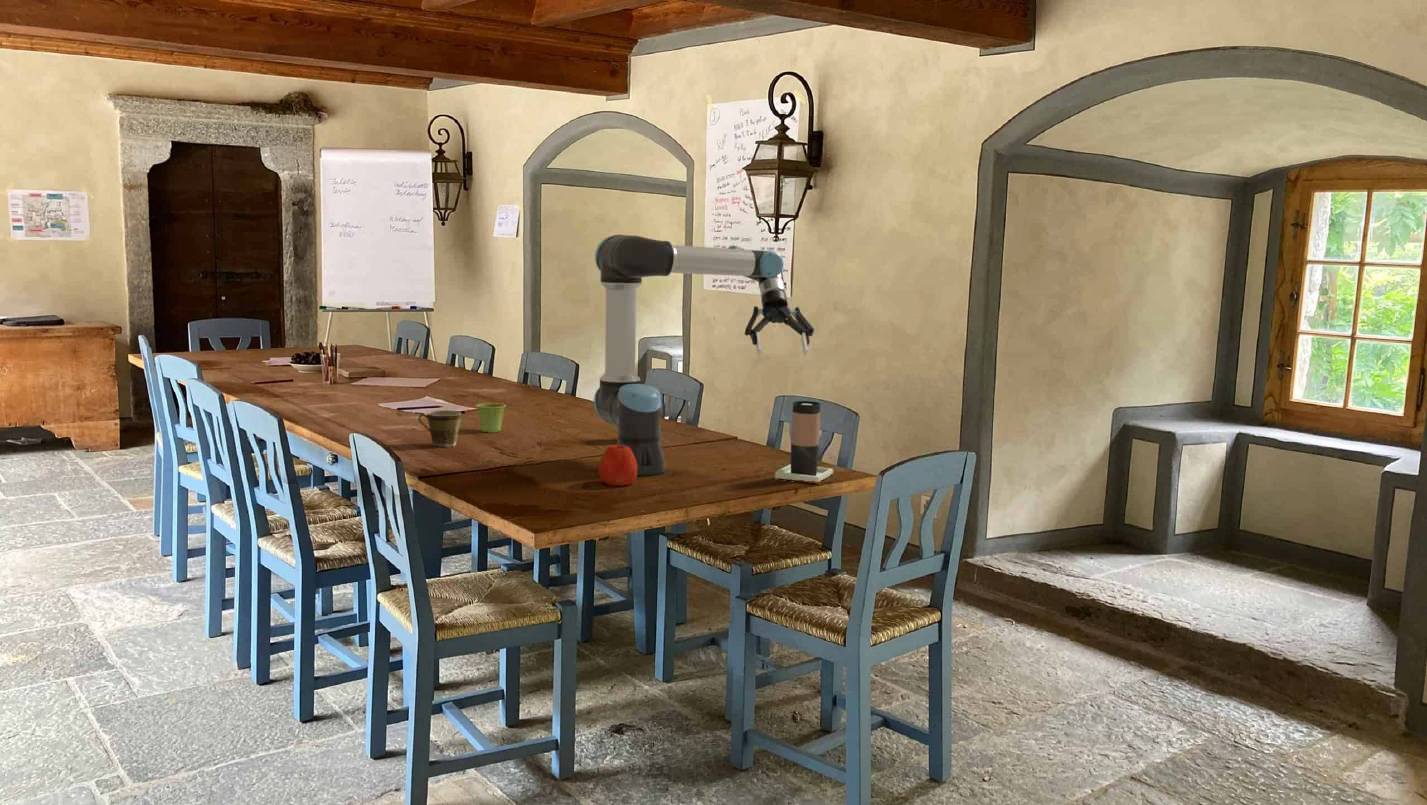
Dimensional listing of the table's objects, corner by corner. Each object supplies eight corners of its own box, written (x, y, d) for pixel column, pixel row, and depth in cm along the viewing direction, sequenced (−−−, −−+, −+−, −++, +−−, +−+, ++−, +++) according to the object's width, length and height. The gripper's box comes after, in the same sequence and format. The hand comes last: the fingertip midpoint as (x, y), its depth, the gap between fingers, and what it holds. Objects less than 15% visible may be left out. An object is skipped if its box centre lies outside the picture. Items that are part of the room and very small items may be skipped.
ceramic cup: (465, 443, 340) (465, 411, 338) (455, 449, 330) (454, 416, 328) (424, 441, 341) (424, 409, 339) (413, 447, 331) (412, 414, 330)
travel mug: (822, 474, 306) (825, 402, 303) (810, 478, 300) (813, 406, 297) (797, 470, 310) (800, 400, 307) (784, 475, 304) (787, 403, 301)
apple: (617, 477, 299) (618, 439, 297) (645, 483, 293) (646, 444, 291) (590, 483, 291) (591, 444, 290) (618, 489, 285) (619, 449, 283)
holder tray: (818, 484, 297) (818, 477, 297) (774, 479, 302) (775, 471, 302) (832, 475, 308) (833, 468, 308) (790, 470, 313) (790, 463, 313)
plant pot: (473, 429, 363) (473, 403, 362) (501, 428, 367) (501, 402, 366) (480, 434, 355) (480, 407, 354) (509, 433, 359) (509, 406, 358)
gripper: (811, 306, 334) (822, 361, 321) (730, 304, 330) (738, 360, 317) (817, 289, 328) (827, 345, 316) (734, 287, 324) (742, 344, 311)
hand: (782, 352), depth 316 cm, fingers open, 13 cm apart
